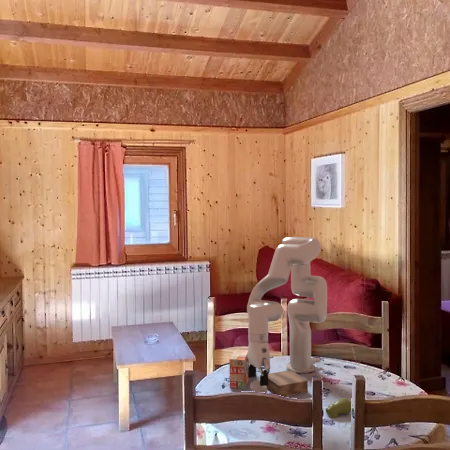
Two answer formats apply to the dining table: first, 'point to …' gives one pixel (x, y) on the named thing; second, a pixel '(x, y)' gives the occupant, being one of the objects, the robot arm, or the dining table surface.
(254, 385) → the frog figurine
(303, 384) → the walnut block
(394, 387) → the dining table surface
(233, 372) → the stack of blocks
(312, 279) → the robot arm
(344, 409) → the pear
